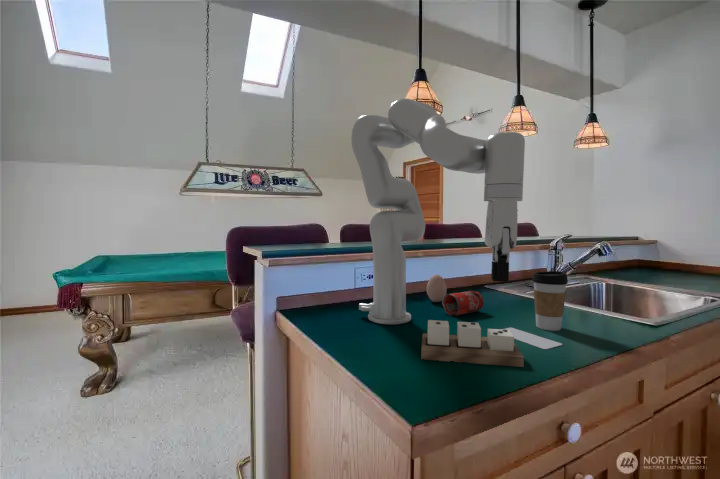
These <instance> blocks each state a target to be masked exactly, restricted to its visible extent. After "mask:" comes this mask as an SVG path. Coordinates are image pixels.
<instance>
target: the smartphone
mask: <svg viewBox="0 0 720 479" xmlns="http://www.w3.org/2000/svg"><path fill="white" fill-rule="evenodd" d="M501 329H502V330H503V329H505V330H510V332H511V333H512V335H513V336H514V341H517V342H518V341H519V342H520V343H524V344H526V345H529V346H533V347H535V348H537V349H541V350H544V351H548V350H551V349H556V348H559V347H563V346H564V344H563V343H562V342H559V341H555V340H552V339H550V338H546V337H542V336H539V335H536V334H533V333H530V332H527V331H524V330H521V329H517V328H515V327H510V326H509V327H504V328H501Z"/></svg>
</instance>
